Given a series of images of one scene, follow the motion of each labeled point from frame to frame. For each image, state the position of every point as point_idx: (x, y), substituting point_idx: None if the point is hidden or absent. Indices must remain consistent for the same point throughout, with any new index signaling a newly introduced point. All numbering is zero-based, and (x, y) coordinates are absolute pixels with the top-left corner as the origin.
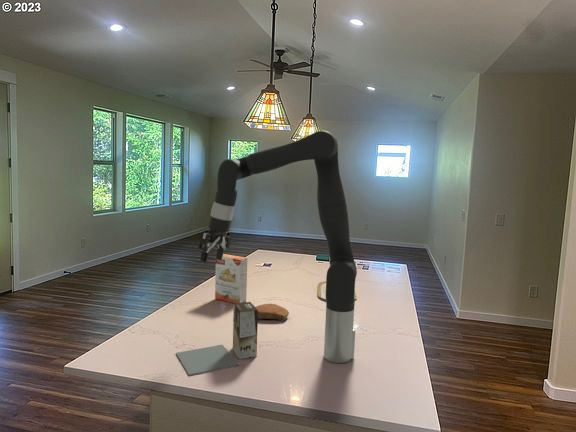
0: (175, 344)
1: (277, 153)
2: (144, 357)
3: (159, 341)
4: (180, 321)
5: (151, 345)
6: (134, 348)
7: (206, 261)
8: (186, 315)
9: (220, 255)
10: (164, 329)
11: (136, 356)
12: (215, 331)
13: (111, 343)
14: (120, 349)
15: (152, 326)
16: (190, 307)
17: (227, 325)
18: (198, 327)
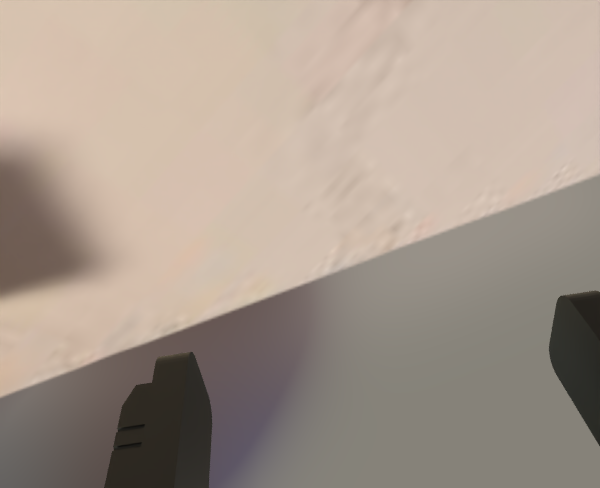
0: (393, 25)
1: None
2: (566, 11)
3: (407, 102)
4: (195, 213)
5: (455, 91)
6: (509, 111)
7: (576, 301)
8: (130, 249)
9: (189, 420)
10: (303, 186)
11: (569, 43)
12: (131, 6)
13: (507, 195)
14: (536, 137)
15: (313, 233)
16: (60, 303)
17: (11, 25)
18: (173, 112)
